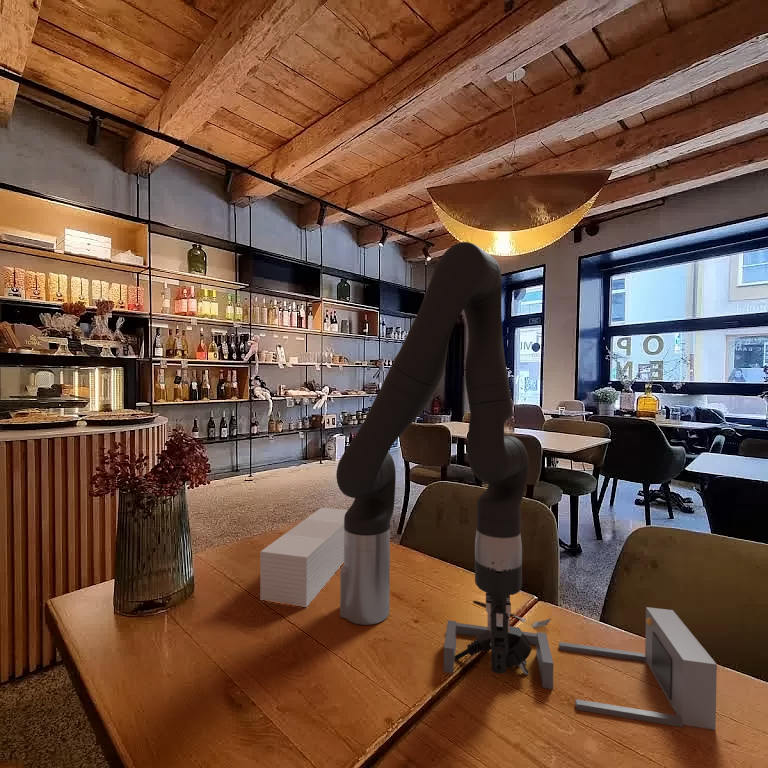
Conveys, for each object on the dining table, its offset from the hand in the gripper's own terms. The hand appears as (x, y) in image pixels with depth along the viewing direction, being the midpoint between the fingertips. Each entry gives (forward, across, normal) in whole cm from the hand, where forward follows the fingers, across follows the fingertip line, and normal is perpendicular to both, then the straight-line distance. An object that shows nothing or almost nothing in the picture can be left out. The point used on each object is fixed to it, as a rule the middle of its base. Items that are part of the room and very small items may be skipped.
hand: (497, 654), depth 72 cm
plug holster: (+1, -2, 0) cm, 3 cm away
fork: (+2, -16, +3) cm, 16 cm away
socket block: (+2, 0, +20) cm, 20 cm away
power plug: (+2, 0, -1) cm, 2 cm away
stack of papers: (+2, -25, -42) cm, 49 cm away
